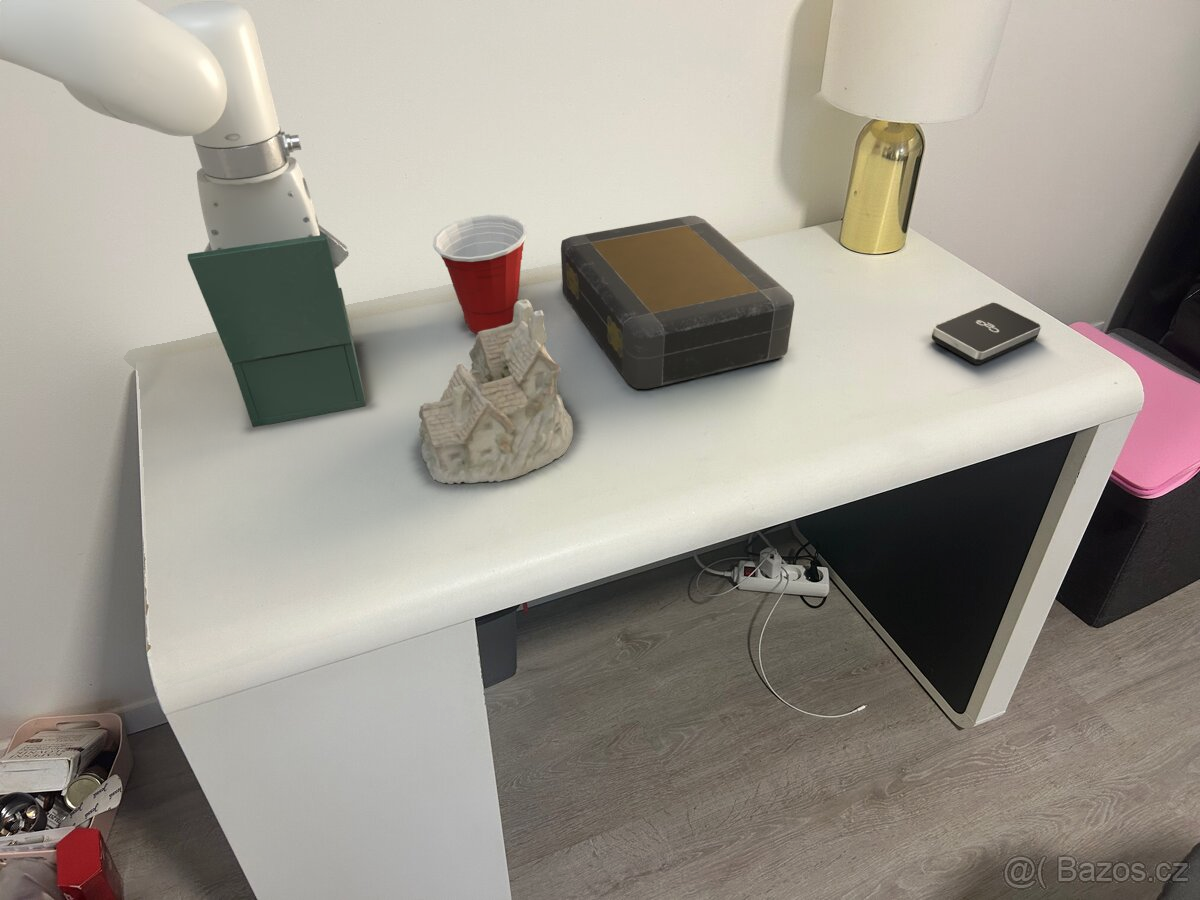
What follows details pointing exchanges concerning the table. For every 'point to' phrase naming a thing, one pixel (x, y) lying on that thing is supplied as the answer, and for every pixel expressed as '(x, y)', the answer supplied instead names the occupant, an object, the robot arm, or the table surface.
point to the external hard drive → (985, 332)
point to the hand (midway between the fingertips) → (290, 324)
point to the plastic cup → (484, 267)
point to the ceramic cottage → (498, 408)
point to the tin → (301, 383)
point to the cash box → (674, 300)
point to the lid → (272, 297)
